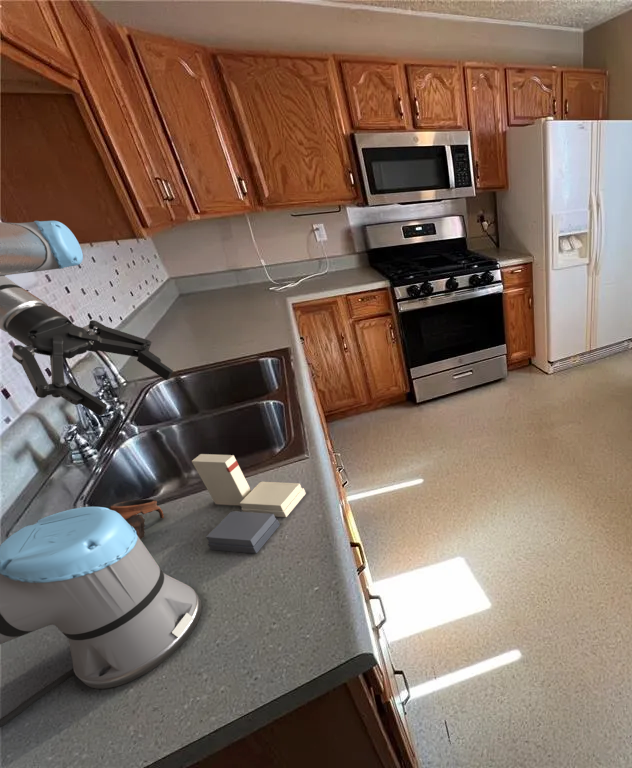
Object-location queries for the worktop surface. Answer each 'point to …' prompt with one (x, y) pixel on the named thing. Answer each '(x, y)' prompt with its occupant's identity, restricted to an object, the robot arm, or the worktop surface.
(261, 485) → the cream books
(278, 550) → the worktop surface
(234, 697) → the worktop surface
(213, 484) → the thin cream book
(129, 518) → the brown footed bowl
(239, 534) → the grey books
